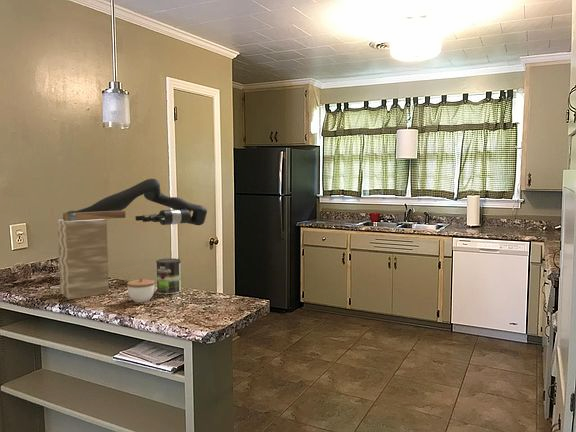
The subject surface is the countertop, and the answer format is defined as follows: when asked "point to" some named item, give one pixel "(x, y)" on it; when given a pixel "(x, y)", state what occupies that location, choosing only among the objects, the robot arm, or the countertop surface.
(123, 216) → the tan wooden plank
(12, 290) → the countertop surface
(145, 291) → the lidded jar
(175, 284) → the coffee can
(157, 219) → the robot arm
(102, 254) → the stand
